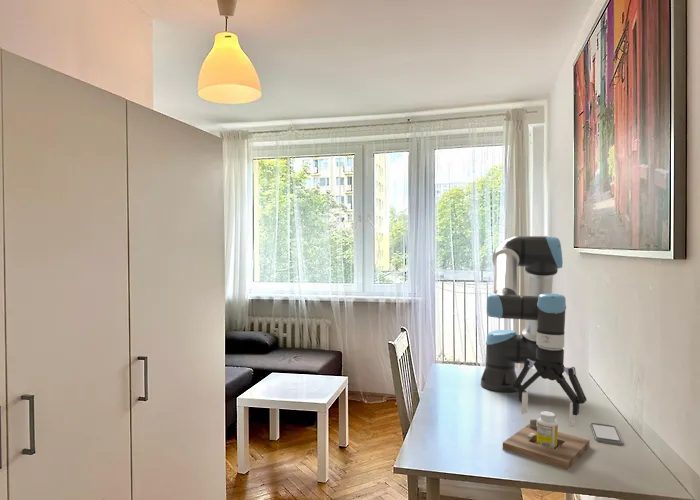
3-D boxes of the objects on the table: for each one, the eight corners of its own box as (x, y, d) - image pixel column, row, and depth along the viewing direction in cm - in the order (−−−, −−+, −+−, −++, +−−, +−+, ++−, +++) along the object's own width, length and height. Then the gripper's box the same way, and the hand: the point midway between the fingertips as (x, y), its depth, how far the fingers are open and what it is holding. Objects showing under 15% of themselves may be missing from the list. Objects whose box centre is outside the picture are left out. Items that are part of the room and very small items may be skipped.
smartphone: (595, 439, 148) (590, 422, 162) (595, 442, 148) (590, 425, 162) (623, 443, 145) (615, 425, 160) (623, 446, 146) (614, 429, 160)
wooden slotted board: (529, 430, 156) (529, 416, 156) (589, 446, 144) (590, 432, 144) (502, 449, 141) (503, 434, 141) (567, 469, 129) (568, 453, 129)
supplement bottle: (549, 443, 146) (551, 409, 145) (560, 451, 140) (562, 416, 140) (532, 444, 145) (533, 410, 144) (543, 452, 139) (544, 417, 139)
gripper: (503, 342, 147) (501, 411, 148) (592, 357, 131) (589, 435, 132) (513, 338, 153) (511, 404, 154) (600, 352, 136) (597, 427, 137)
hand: (547, 419), depth 143 cm, fingers open, 13 cm apart
